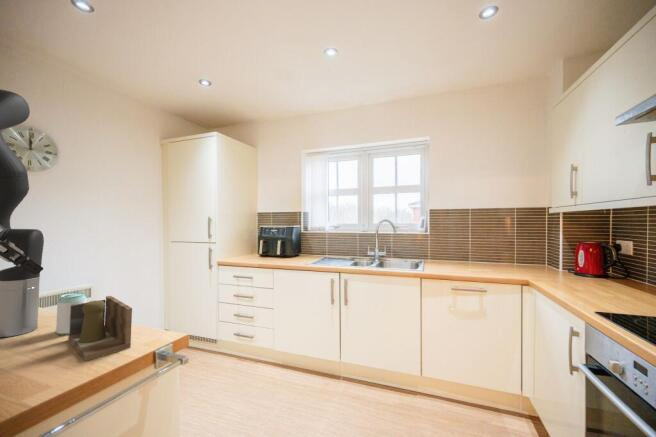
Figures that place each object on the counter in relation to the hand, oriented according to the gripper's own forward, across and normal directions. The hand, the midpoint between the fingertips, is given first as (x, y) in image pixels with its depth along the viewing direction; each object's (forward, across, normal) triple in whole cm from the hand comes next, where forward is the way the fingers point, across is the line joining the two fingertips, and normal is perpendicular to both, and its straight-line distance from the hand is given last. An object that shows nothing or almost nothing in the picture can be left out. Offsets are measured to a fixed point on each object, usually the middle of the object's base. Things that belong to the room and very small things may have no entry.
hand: (37, 269), depth 72 cm
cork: (+24, -2, +7) cm, 25 cm away
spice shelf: (+26, -3, +7) cm, 27 cm away
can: (+24, +16, +10) cm, 30 cm away
